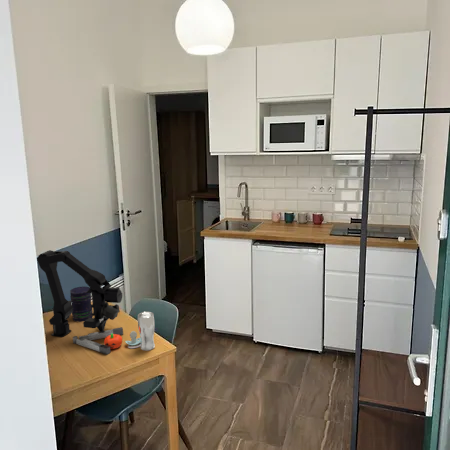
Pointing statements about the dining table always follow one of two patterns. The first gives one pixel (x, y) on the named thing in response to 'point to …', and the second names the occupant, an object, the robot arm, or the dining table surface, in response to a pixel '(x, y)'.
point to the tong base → (92, 345)
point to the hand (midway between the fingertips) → (102, 333)
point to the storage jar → (81, 304)
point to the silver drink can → (146, 330)
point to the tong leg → (102, 334)
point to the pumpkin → (113, 341)
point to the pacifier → (134, 340)
